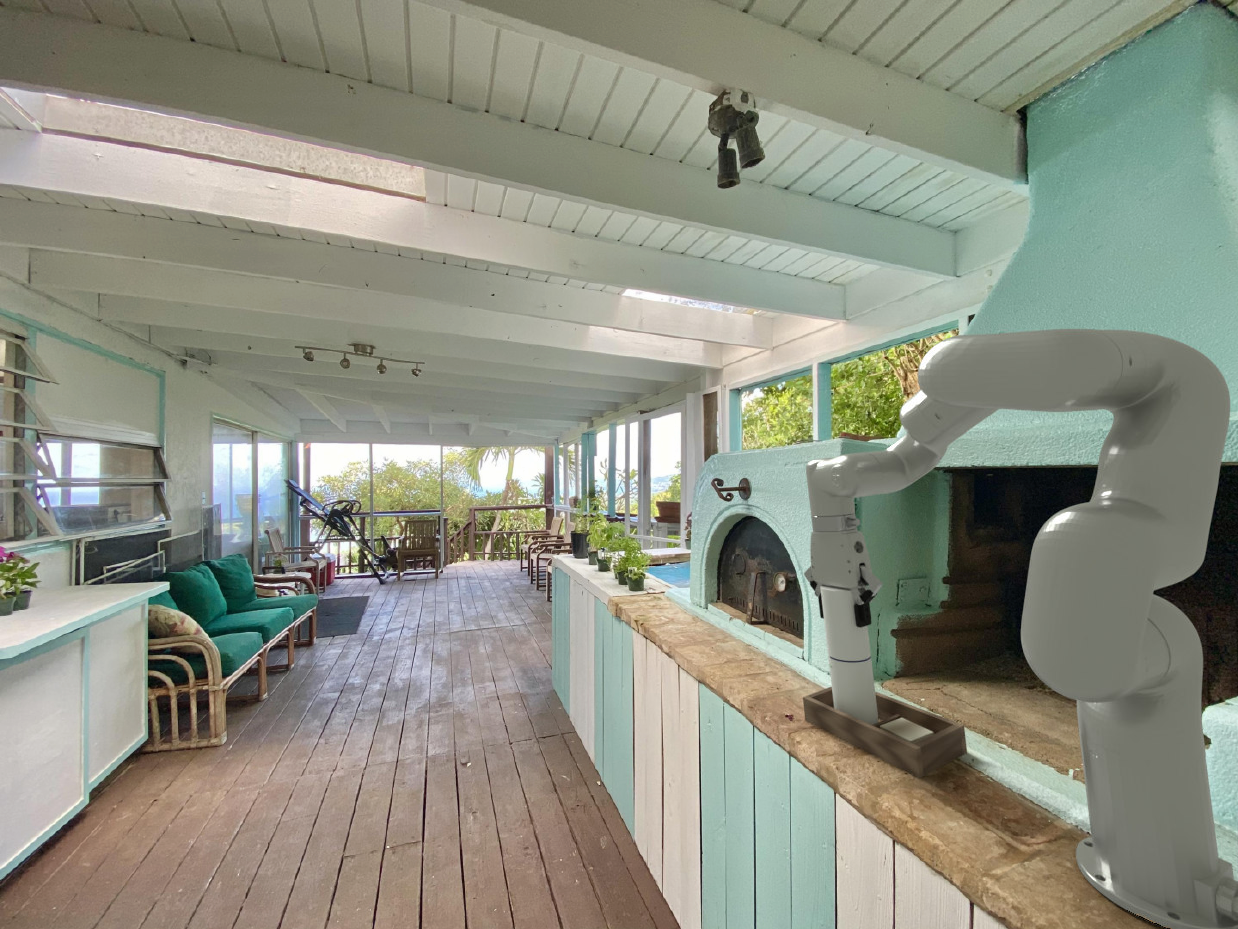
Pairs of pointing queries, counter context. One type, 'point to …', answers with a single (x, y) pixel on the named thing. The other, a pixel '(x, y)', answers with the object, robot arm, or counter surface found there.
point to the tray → (885, 745)
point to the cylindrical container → (848, 656)
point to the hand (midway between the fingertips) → (845, 620)
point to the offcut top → (906, 730)
